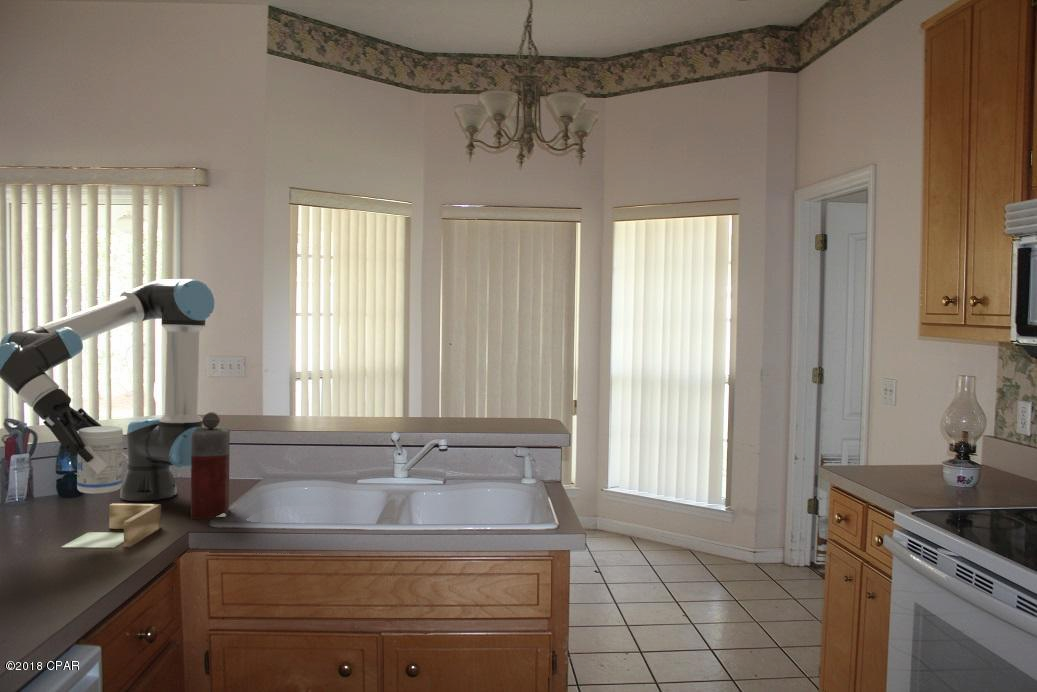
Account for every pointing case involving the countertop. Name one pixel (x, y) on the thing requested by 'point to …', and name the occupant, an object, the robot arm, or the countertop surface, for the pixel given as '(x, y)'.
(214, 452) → the dark red bottle
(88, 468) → the supplement tub
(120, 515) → the corner arena
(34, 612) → the countertop surface
